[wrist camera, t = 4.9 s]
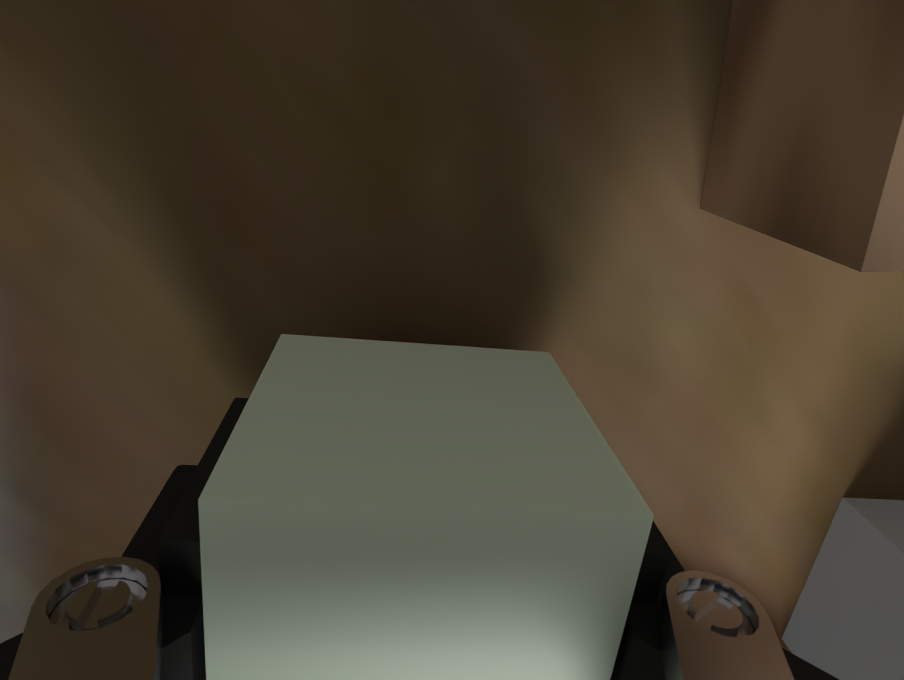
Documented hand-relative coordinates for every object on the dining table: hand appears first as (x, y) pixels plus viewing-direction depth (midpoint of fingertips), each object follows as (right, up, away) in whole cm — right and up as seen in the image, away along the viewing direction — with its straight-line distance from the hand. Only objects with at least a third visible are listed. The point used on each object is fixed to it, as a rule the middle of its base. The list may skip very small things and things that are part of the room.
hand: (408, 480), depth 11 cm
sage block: (0, 0, +1) cm, 1 cm away
